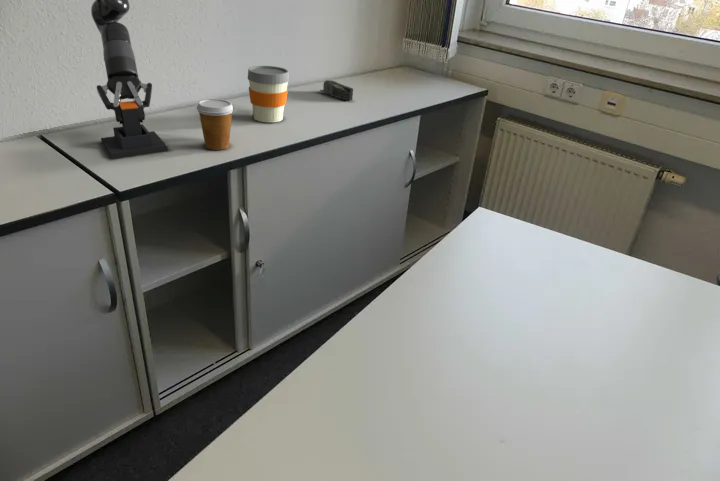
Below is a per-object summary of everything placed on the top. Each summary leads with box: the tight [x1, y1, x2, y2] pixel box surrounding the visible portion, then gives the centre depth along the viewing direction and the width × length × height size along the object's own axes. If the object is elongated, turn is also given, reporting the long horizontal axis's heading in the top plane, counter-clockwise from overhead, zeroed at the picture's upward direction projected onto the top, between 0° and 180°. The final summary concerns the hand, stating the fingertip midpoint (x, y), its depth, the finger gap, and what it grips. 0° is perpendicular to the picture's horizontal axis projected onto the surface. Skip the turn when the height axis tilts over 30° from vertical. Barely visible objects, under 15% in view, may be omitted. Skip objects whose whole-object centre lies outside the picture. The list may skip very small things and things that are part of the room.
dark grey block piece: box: [319, 79, 354, 102], centre depth 197 cm, size 5×3×15 cm
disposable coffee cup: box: [196, 98, 235, 151], centre depth 147 cm, size 10×10×12 cm
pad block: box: [119, 100, 142, 137], centre depth 142 cm, size 4×5×8 cm
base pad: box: [100, 123, 168, 160], centre depth 144 cm, size 14×12×4 cm
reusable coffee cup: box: [247, 65, 290, 123], centre depth 169 cm, size 13×13×15 cm
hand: (131, 121), depth 140 cm, fingers closed on pad block, 4 cm apart
